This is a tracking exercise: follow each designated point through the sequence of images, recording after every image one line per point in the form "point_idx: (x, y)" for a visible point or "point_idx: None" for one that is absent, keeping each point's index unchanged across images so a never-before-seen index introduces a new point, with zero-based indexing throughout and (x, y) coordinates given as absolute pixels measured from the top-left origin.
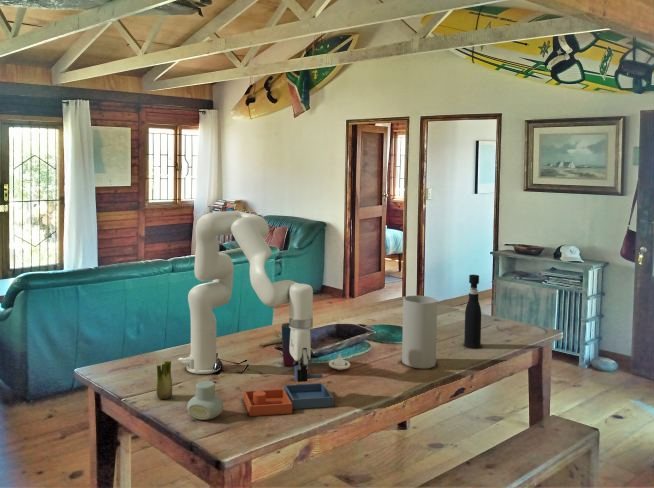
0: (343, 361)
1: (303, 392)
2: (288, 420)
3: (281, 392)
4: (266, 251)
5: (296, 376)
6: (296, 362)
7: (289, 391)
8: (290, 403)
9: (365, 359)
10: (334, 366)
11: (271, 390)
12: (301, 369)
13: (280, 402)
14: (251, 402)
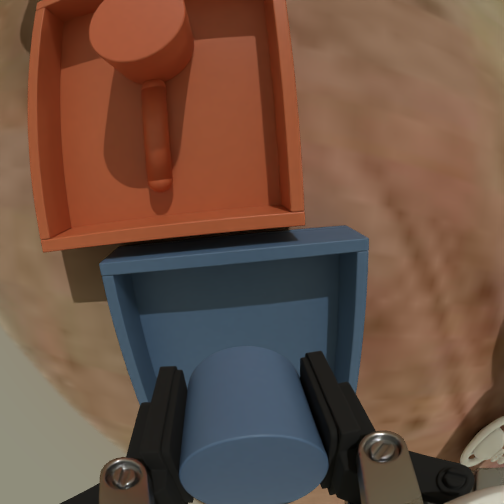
0: (483, 459)
1: (330, 336)
2: (4, 210)
3: (286, 203)
4: None
5: (206, 382)
6: (354, 467)
7: (245, 261)
8: (45, 241)
9: (488, 467)
10: (481, 437)
11: (285, 126)
12: (108, 481)
13: (148, 178)
14: (208, 9)
